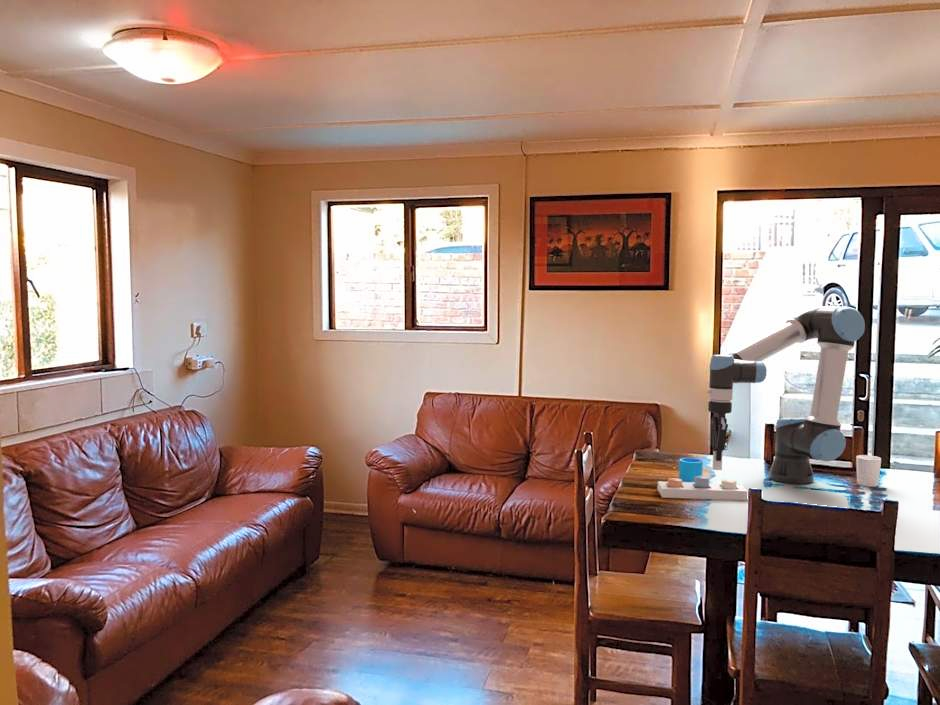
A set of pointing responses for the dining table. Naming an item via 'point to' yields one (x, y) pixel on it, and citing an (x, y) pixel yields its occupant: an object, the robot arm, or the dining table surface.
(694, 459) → the mug
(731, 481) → the button cream
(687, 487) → the button panel
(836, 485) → the dining table surface
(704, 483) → the button slate
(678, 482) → the button terracotta
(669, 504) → the dining table surface
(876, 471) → the white cup
